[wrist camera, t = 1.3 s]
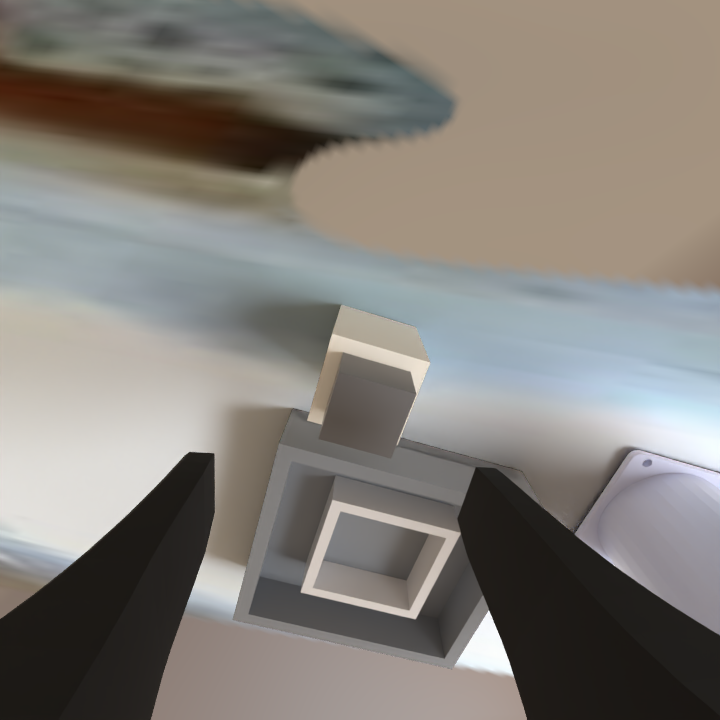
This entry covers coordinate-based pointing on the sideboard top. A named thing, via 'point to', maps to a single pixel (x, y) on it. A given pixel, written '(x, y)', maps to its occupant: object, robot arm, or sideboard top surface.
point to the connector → (368, 382)
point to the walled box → (366, 547)
